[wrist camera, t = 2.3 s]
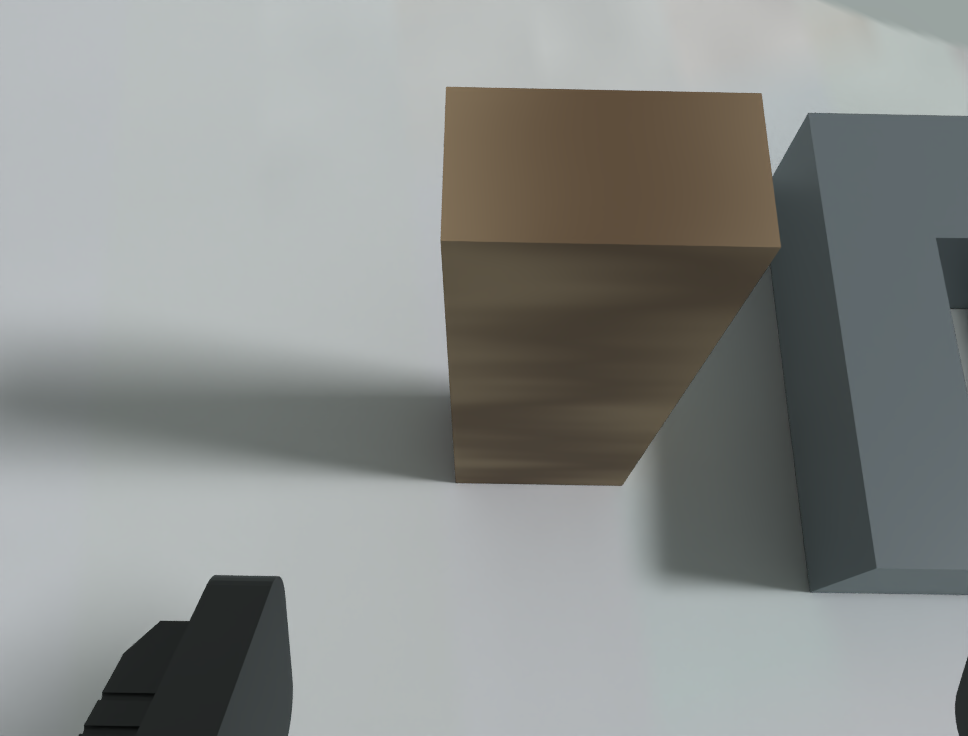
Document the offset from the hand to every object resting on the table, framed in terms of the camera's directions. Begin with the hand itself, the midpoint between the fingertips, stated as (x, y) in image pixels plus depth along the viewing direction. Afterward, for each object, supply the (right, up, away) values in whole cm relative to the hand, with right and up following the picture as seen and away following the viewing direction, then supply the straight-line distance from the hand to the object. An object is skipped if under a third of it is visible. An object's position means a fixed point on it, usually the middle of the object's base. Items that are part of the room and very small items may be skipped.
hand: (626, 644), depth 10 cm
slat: (0, +1, +14) cm, 14 cm away
